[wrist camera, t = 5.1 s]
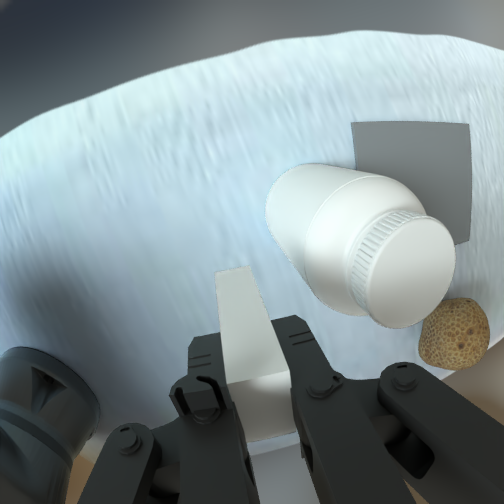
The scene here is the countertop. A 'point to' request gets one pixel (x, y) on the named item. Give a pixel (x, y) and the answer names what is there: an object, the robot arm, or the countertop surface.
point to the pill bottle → (361, 242)
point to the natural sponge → (454, 335)
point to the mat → (423, 165)
